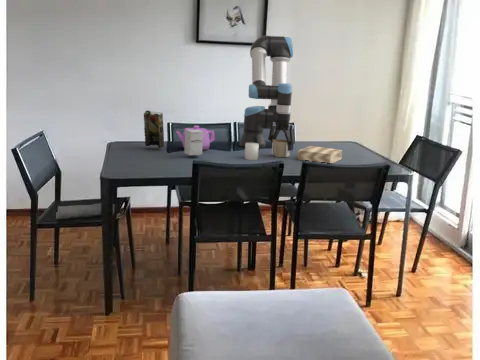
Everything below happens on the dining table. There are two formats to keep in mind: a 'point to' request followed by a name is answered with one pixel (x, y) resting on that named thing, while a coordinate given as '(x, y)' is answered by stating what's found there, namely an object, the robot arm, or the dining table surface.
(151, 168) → the dining table surface
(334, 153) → the maple block
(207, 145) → the teakettle
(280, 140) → the flower pot
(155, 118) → the juice carton
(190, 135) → the supplement box
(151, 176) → the dining table surface
